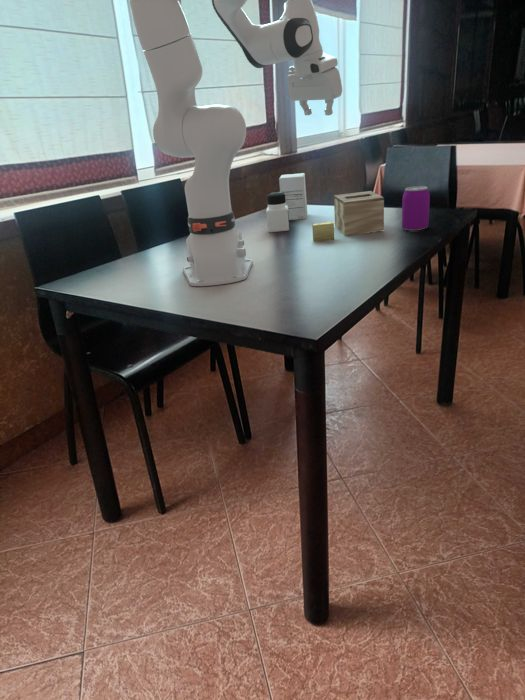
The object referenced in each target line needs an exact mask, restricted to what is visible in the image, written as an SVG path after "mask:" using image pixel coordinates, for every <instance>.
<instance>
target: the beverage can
mask: <svg viewBox="0 0 525 700" xmlns="http://www.w3.org/2000/svg"><path fill="white" fill-rule="evenodd" d="M430 196H431V194H430V191H429V188H428V186H424V185H418V186H417V185H415V186H408V187H405V190H404V192H403V195H402V201H401V202H402V204H401V205H402V206H401V207H402V209H401V210H402V211H401V214H402V215H401V228H402V229H403V230H404V229H406V230H421V229H425V228H426V229H427V228H428V227H429V224H430V223H429V221H430V220H429V219H430V216H429V215H430V201H431V198H430ZM426 229H425V230H426ZM406 230H405V231H406Z"/></svg>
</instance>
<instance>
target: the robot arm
mask: <svg viewBox="0 0 525 700" xmlns="http://www.w3.org/2000/svg"><path fill="white" fill-rule="evenodd" d="M247 2H248V0H211V5H212V8H213V10H214V12H215V14H216V15H217V16H218V18H219V20H220V21H221V23H222V24H223V26H224V27H225V28H226V29H227V31H229V33H230V35H232V37H233V39H234V40H235V41H236V43H237V44H238V45H239V46H240V48H241V51H242V52H243V54H244V57H245V58H246V59H247V62H248V63H249V64H250V65H252V67H254V68H257V69H262V68H265V67H268V66H271V65H274V64H275V65H276V64H281V63H285V62H288V61H292V65H291V66H289V68H288V70H287V89H288V95H289V99H291V101H292V102H294V101H295V102H298V101H299V102H298V103H299V105H300V107H301V109H302V110H303V113H304V114H303V115H304V116H310V115H312V108H311V107H310V106H309V105H308V101H321V100H322V101H323V100H324V103H325V104H326V106H325V108H324V114H325V115H324V116H331V115H333V113H334V112H333V106H334V102H335V101H334V100H336V99H338V98H340V97H341V96H342V93H343V85H342V79H341V75H340V70H339V69H338V68H337V66H338V65H339V64H338V58H337V57H335V56H333V55H330V54H327V53H326V52H324V51H323V47H322V44H321V41H320V28H319V21H318V17H317V13H316V9H315V7H314V3H313V1H312V0H286V2H284V4H283V13H282V15H281V16H280V18H279V19H278V20H276V21H273V22H269V23H265V24H254V23H253V22H252V21H251V19H250V18H249V17H248V16H247V14H246V12H245V11H244V10H243V7H244V5H245V4H246V3H247ZM129 5H130V10H131V11H130V12H131V16H132V20H133V24H134V27H135V31H136V33H137V36H138V37H137V38H138V40H139V43H140V46H141V49H142V53H143V54H144V57H145V60H146V62H147V65H148V68H149V70H150V74H151V77H152V80H153V82H154V85H155V89H156V95H157V103H158V104H157V105H158V112H157V117H156V119H155V120H154V124H153V127H152V128H153V129H152V135H153V139H154V143H155V145H156V147H157V148H158V150H159V151H160V152H162V153H163V154H165V155H168V156H171V157H175V158H179V159H181V158H182V159H183V158H184V159H186V158H194V163H195V164H194V168H193V169H194V170H193V172H192V175H191V176H190V177H189V178H188V179H187V180H186V181H185V184H184V194H185V201H186V206H187V212H188V217H187V225H188V231H189V235H188V236H187V238H186V239H185V241H186V242H185V243H186V250H187V254H188V256H187V257H186V260H187V262H188V263H189V265H186V266H184V267H182V272H183V275H184V277H185V278H186V280H187V283H188V284H189V285H190V286H191V287H209V286H219V285H224V284H225V285H226V284H233V283H236V282H240V281H243V280H246V279H247V277H248V275H249V274H250V271H251V268H252V267H253V264H254V262H253V259H252V258H248V257H247V254H246V253H247V252H246V247H244V245H245V241H244V239H243V234H242V232H241V231H239V230H238V229H237V228H236V227H235V226H236V222H235V220H236V219H235V215H234V211H233V210H232V204H231V194H230V173H231V168H232V165H233V161H234V159H235V157H236V155H237V154H238V152H239V150H241V148H242V147H243V146H244V143H245V141H246V138H247V125H246V120H245V118H244V117H243V114H242V112H240V110H239V109H238V108H236V107H234V106H230V105H226V104H225V105H224V104H219V103H217V104H210V105H209V104H208V105H202V106H201V105H199V106H198V105H197V100H196V87H197V86H198V84H199V83H200V81H201V79H202V77H203V67H202V63H201V59H200V57H199V53H198V50H197V47H196V44H195V42H194V37H193V35H192V32H191V28H190V26H189V23H188V20H187V18H186V14H185V13H184V10H183V8H182V0H129Z"/></svg>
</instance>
